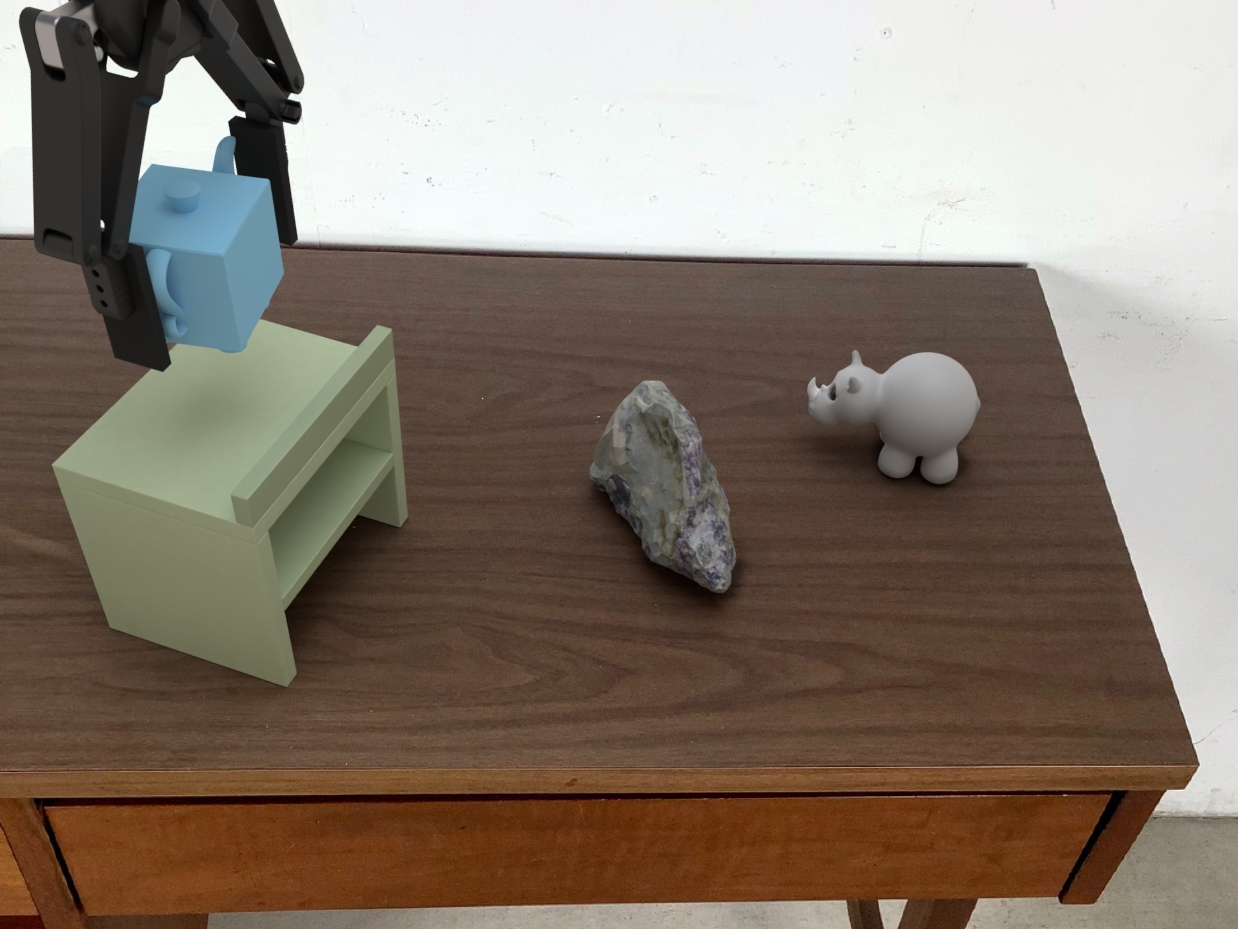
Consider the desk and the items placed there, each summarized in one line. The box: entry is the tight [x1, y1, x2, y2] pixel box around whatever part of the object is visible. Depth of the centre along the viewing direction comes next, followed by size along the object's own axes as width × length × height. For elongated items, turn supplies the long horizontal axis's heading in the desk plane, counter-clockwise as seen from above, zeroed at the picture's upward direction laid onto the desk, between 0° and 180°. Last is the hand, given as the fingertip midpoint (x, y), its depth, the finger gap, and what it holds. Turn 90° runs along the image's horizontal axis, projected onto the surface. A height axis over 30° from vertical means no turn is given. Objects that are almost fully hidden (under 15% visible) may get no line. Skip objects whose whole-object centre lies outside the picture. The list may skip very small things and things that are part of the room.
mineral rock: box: [589, 380, 737, 594], centre depth 82 cm, size 13×11×10 cm
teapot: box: [129, 135, 285, 353], centre depth 65 cm, size 12×6×8 cm, turn 174°
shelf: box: [51, 318, 409, 688], centre depth 76 cm, size 12×16×15 cm
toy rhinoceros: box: [806, 349, 982, 485], centre depth 90 cm, size 7×12×8 cm, turn 80°
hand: (212, 295), depth 67 cm, fingers closed on teapot, 12 cm apart
